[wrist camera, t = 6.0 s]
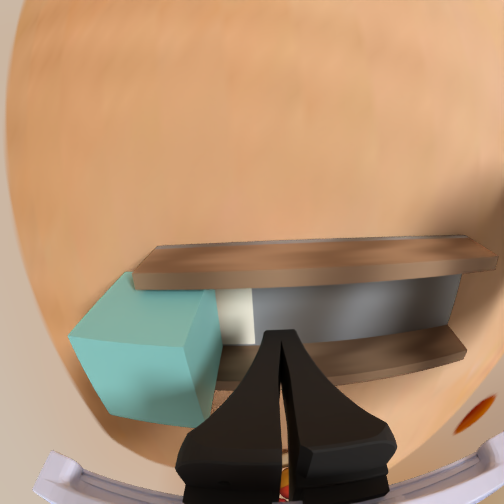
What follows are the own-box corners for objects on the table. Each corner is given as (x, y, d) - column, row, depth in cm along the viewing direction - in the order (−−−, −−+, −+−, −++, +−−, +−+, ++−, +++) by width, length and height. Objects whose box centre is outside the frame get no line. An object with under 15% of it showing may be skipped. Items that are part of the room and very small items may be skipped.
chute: (464, 235, 14) (498, 256, 10) (440, 329, 16) (463, 359, 13) (149, 246, 15) (122, 273, 12) (173, 348, 17) (158, 385, 14)
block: (212, 269, 14) (183, 347, 9) (222, 346, 16) (207, 428, 10) (125, 271, 14) (67, 335, 9) (145, 343, 16) (110, 414, 11)
